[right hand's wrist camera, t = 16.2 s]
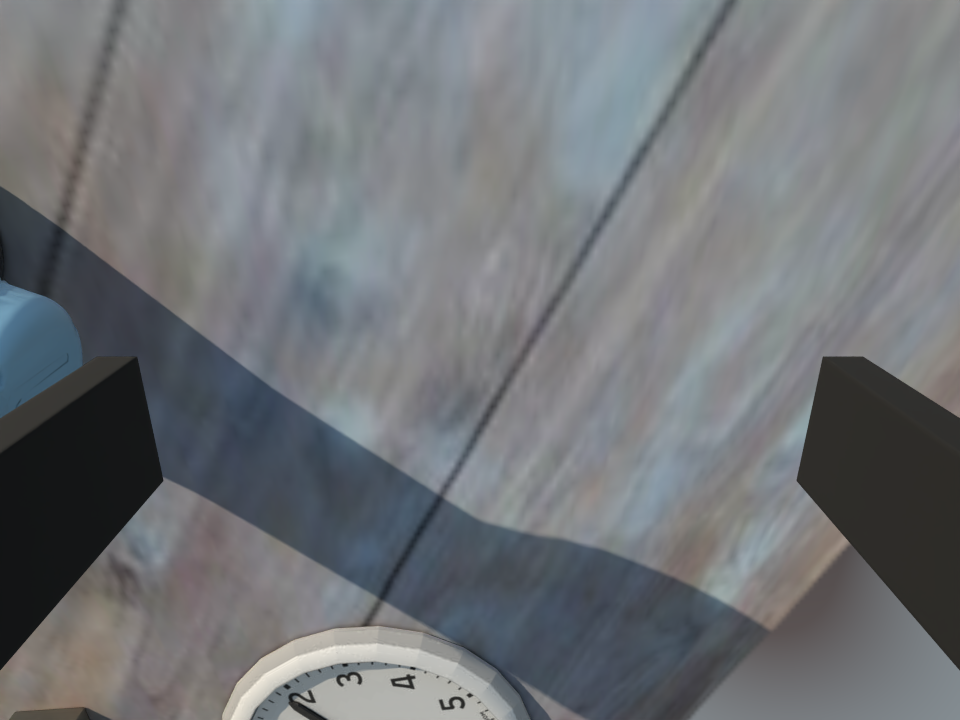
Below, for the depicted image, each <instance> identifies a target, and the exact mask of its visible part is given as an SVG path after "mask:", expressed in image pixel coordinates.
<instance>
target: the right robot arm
mask: <svg viewBox="0 0 960 720" xmlns="http://www.w3.org/2000/svg"><path fill="white" fill-rule="evenodd" d="M162 482H163V476H162V472H161V467H160V462H159V457H158V453H157V448H156V443H155V439H154V434H153V429H152V425H151V420H150V415H149V410H148V406H147V401H146V396H145V392H144V387H143V382H142V378H141V373H140V368H139V363H138V359H137V357H96V358H94V359H93V360H91V361H89V362H88V363H86V364H85V365H83V366H82V367H80V368H78V369H77V370H75V371H74V372H72V373H71V374H69V375H67V376H66V377H64V378H63V379H61V380H60V381H58V382H56V383H55V384H53V385H52V386H50V387H49V388H47V389H45V390H44V391H42V392H41V393H39V394H38V395H36V396H34V397H33V398H31V399H30V400H28V401H27V402H25V403H23V404H22V405H20V406H19V407H17V408H16V409H14V410H12V411H11V412H9V413H8V414H6V415H5V416H3V417H1V418H0V670H1V669H2V668H3V667H4V665H5V664H6V663H7V662H8V661H9V660H10V658H11V657H12V656H13V655H14V654H15V653H16V651H17V650H18V649H19V648H20V647H21V646H22V644H23V643H24V642H25V641H26V640H27V639H28V637H29V636H30V635H31V634H32V633H33V632H34V631H35V629H36V628H37V627H38V626H39V625H40V624H41V622H42V621H43V620H44V619H45V618H46V617H47V615H48V614H49V613H50V612H51V611H52V610H53V608H54V607H55V606H56V605H57V604H58V603H59V601H60V600H61V599H62V598H63V597H64V596H65V595H66V593H67V592H68V591H69V590H70V589H71V588H72V586H73V585H74V584H75V583H76V582H77V581H78V579H79V578H80V577H81V576H82V575H83V574H84V572H85V571H86V570H87V569H88V568H89V567H90V565H91V564H92V563H93V562H94V561H95V560H96V559H97V557H98V556H99V555H100V554H101V553H102V552H103V550H104V549H105V548H106V547H107V546H108V545H109V543H110V542H111V541H112V540H113V539H114V538H115V536H116V535H117V534H118V533H119V532H120V531H121V529H122V528H123V527H124V526H125V525H126V524H127V523H128V521H129V520H130V519H131V518H132V517H133V516H134V514H135V513H136V512H137V511H138V510H139V509H140V507H141V506H142V505H143V504H144V503H145V502H146V500H147V499H148V498H149V497H150V496H151V495H152V493H153V492H154V491H155V490H156V489H157V488H158V486H159V485H160V484H161V483H162ZM797 482H798V483H799V484H800V485H801V487H802V488H803V489H804V490H805V491H806V492H807V493H808V495H809V496H810V497H811V498H812V499H813V500H814V502H815V503H816V504H817V505H818V506H819V507H820V509H821V510H822V511H823V512H824V513H825V514H826V516H827V517H828V518H829V519H830V520H831V521H832V523H833V524H834V525H835V526H836V527H837V528H838V529H839V531H840V532H841V533H842V534H843V535H844V536H845V538H846V539H847V540H848V541H849V542H850V543H851V545H852V546H853V547H854V548H855V549H856V550H857V552H858V553H859V554H860V555H861V556H862V557H863V559H864V560H865V561H866V562H867V563H868V564H869V565H870V567H871V568H872V569H873V570H874V571H875V572H876V574H877V575H878V576H879V577H880V578H881V579H882V581H883V582H884V583H885V584H886V585H887V586H888V587H889V589H890V590H891V591H892V592H893V593H894V595H895V596H896V597H897V598H898V599H899V600H900V601H901V603H902V604H903V605H904V606H905V607H906V608H907V610H908V611H909V612H910V613H911V614H912V615H913V617H914V618H915V619H916V620H917V621H918V622H919V624H920V625H921V626H922V627H923V628H924V629H925V631H926V632H927V633H928V634H929V635H930V636H931V637H932V639H933V640H934V641H935V642H936V643H937V644H938V646H939V647H940V648H941V649H942V650H943V651H944V653H945V654H946V655H947V656H948V657H949V658H950V660H951V661H952V662H953V663H954V664H955V665H956V667H957V668H958V669H959V670H960V418H959V417H957V416H955V415H954V414H952V413H951V412H949V411H948V410H946V409H944V408H943V407H941V406H940V405H938V404H937V403H935V402H933V401H932V400H930V399H929V398H927V397H926V396H924V395H922V394H921V393H919V392H918V391H916V390H915V389H913V388H911V387H910V386H908V385H907V384H905V383H904V382H902V381H900V380H899V379H897V378H896V377H894V376H893V375H891V374H889V373H888V372H886V371H885V370H883V369H882V368H880V367H878V366H877V365H875V364H874V363H872V362H871V361H869V360H867V359H866V358H864V357H823V359H822V363H821V368H820V373H819V378H818V382H817V387H816V392H815V396H814V401H813V406H812V410H811V415H810V420H809V425H808V429H807V434H806V439H805V443H804V448H803V453H802V457H801V462H800V467H799V472H798V476H797Z"/></svg>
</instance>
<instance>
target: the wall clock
mask: <svg viewBox="0 0 960 720" xmlns="http://www.w3.org/2000/svg"><path fill="white" fill-rule="evenodd" d="M222 720H531V719H530V717H529V714H528V712H527V710H526V708H525V705H524V703H523V701H522V699H521V696H520V695H519V694H518V693H517V691H516V690H515V689H514V688H513V687H512V686H511V685H510V684H509V682H508V681H507V680H506V679H505V678H504V677H503V676H502V675H501V673H500V672H499V671H498V670H497V669H496V668H494V667H493V666H491V665H490V664H488V663H487V662H485V661H484V660H482V659H481V658H479V657H477V656H476V655H474V654H473V653H471V652H470V651H468V650H467V649H465V648H464V647H461V646H458V645H456V644H453V643H450V642H448V641H445V640H442V639H439V638H437V637H434V636H431V635H429V634H426V633H423V632H416V631H409V630H402V629H396V628H389V627H382V626H372V627H354V628H337V629H332V630H328V631H324V632H321V633H317V634H314V635H310V636H306V637H303V638H299V639H296V640H293V641H291V642H290V643H288V644H286V645H284V646H283V647H281V648H279V649H277V650H275V651H274V652H272V653H270V654H268V655H267V656H265V657H263V658H261V659H260V660H259V661H258V662H257V663H256V664H255V665H254V666H253V667H252V668H251V669H250V670H249V671H248V672H247V673H246V674H245V675H244V677H243V678H242V679H241V680H240V681H239V682H238V683H237V684H236V686H235V689H234V691H233V693H232V695H231V697H230V699H229V702H228V704H227V706H226V708H225V710H224V712H223V715H222Z"/></svg>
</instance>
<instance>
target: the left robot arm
mask: <svg viewBox="0 0 960 720" xmlns="http://www.w3.org/2000/svg"><path fill="white" fill-rule="evenodd" d="M2 275H3V254H2V247H1V242H0V418H1V417H3V416H5V415H6V414H8V413H9V412H11V411H12V410H14V409H16V408H17V407H19V406H20V405H22V404H23V403H25V402H27V401H28V400H30V399H31V398H33V397H34V396H36V395H38V394H39V393H41V392H42V391H44V390H45V389H47V388H49V387H50V386H52V385H53V384H55V383H56V382H58V381H60V380H61V379H63V378H64V377H66V376H67V375H69V374H71V373H72V372H74V371H75V370H77V369H78V368H80V367H82V366H83V362H82V348H81V342H80V338H79V334H78V331H77V329H76V328H75V326H74V324H73V322H72V320H71V317H70V316H69V315H68V313H67V312H66V310H65V309H64V308H63V307H61V306H60V305H59V304H58V303H56V302H55V301H53V300H51V299H49V298H47V297H45V296H42V295H39V294H36V293H33V292H30V291H27V290H24V289H21V288H18V287H16V286H13V285H10V284H8V283H7V282H6V281H2Z"/></svg>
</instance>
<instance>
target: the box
mask: <svg viewBox="0 0 960 720" xmlns="http://www.w3.org/2000/svg"><path fill="white" fill-rule="evenodd" d="M9 720H89V717H88V715H87V713H86V710H85V708H84V707H82V708H67V709H53V710H38V711H23V712H15V713H14V714H13V715H12V717H11V718H10V719H9Z"/></svg>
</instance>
